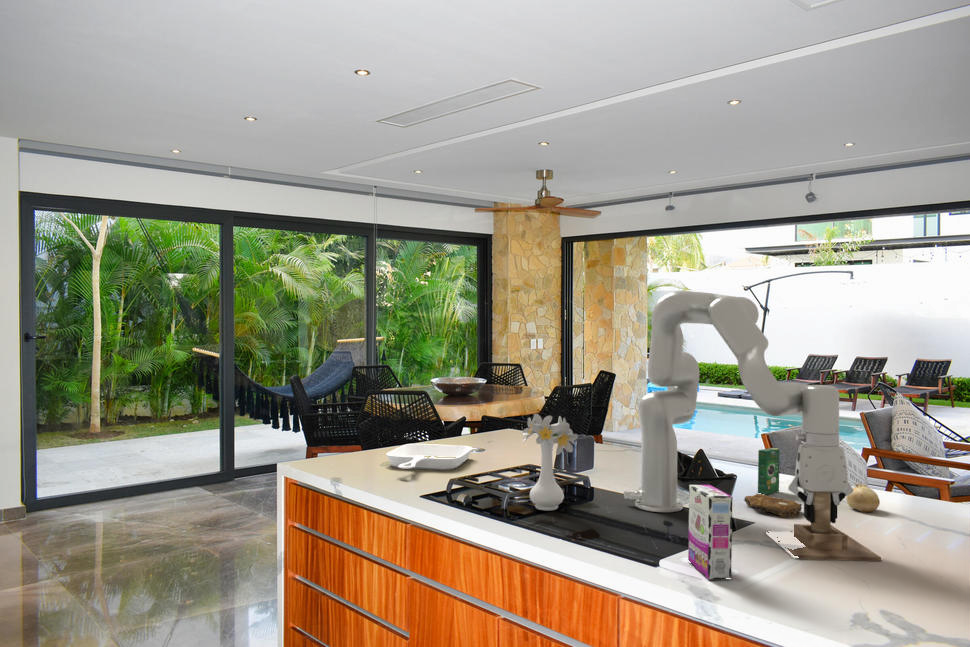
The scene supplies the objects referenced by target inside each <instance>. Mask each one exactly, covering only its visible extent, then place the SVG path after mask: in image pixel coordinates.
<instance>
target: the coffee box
mask: <svg viewBox="0 0 970 647" xmlns="http://www.w3.org/2000/svg"><path fill="white" fill-rule="evenodd" d="M757 452H758V462H757V464H758V465H757V470H758V472H757V494H758V493H761V494H764V495H765V496H768V495H771V494H774V492H776V493H777V491H779V492H780V449H779V448H776V447H775V448H774V447H769V448H763V449H758V450H757ZM770 493H771V494H770Z"/></svg>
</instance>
